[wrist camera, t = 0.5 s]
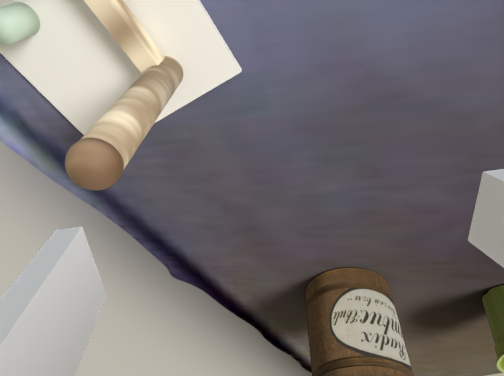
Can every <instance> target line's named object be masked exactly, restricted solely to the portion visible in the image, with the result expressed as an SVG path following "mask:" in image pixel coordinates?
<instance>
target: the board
mask: <svg viewBox="0 0 504 376" xmlns="http://www.w3.org/2000/svg"><path fill="white" fill-rule="evenodd" d="M123 1H124V2H125V4H126V5H127V7H128V8H129V9H130V11H131V12H132V13H133V15H134V16H135V17H136V19H137V20H138V22H139V23H140V24H141V26H142V27H143V28H144V30H145V31H146V32H147V34H148V35H149V37H150V38H151V39H152V41H153V42H154V43H155V45H156V46H157V48H158V49H159V50H160V52H161V53H162V54H163V56H169V57H172V58H174V59H175V60H177V61H178V62H179V64H180V65H181V67H182V69H183V79H182V81H181V83H180V84H179V86H178V87H177V89H176V90H175V92H174V93H173V95H172V97H171V98H170V100H169V101H168V103H167V104H166V106H165V107H164V109H163V110H162V112H161V113H160V115H159V116H158V118H157V119H156V121H155V122H157V121H159V120H161V119H162V118H164V117H166V116H167V115H169V114H171V113H172V112H174V111H176V110H178V109H179V108H181V107H183V106H184V105H186V104H188V103H189V102H191V101H193V100H194V99H196V98H198V97H200V96H201V95H203V94H205V93H206V92H208V91H210V90H211V89H213V88H215V87H217V86H218V85H220V84H222V83H223V82H225V81H227V80H228V79H230V78H232V77H233V76H235V75H237V74H239V73H240V72H241V71H242V69H241V67H240V66H239V64H238V62H237V61H236V59H235V57H234V56H233V54H232V52H231V51H230V49H229V48H228V46H227V44H226V43H225V41H224V39H223V38H222V36H221V34H220V33H219V31H218V29H217V28H216V26H215V25H214V23H213V21H212V20H211V18H210V16H209V15H208V13H207V11H206V10H205V8H204V7H203V5H202V3H201V2H200V0H123ZM15 2H22V3H25V4H27V5H28V6H30V7H31V8H32V9H33V10H34V11H35V12H36V14H37V16H38V18H39V20H40V30H39V31H38V32H37V33H36V34H34V35H31V36H29V37H27V38H25V39H22V40H20V41H18V42H16V43H13V44H11V45H1V44H0V53H1V54H2V55H3V56H4V57H5V58H6V59H7V60H8V61H9V62H10V63H11V64H12V65H13V66H14V67H15V68H16V69H17V70H18V71H19V72H20V73H21V74H22V75H23V76H24V77H25V78H26V79H27V80H28V81H29V82H30V83H31V84H32V85H33V86H34V87H35V88H36V89H37V90H38V91H39V92H40V93H41V94H42V95H43V96H44V97H46V98H47V99H48V100H49V101H50V102H51V103H52V104H53V105H54V106H55V107H56V108H57V109H58V110H59V111H60V112H61V113H62V114H63V115H64V116H65V117H66V118H67V119H68V120H69V121H70V122H71V123H72V124H73V125H74V126H75V127H76V128H77V129H78V130H79V131H80V132H81V133H82V134H83V135H85V134H86V133H87V132H88V131H89V130H90V128H91V127H92V126H93V125H94V124H95V123H96V122H97V121H98V120H99V119H100V118H101V117H102V116H103V115H104V114H105V113H106V112H107V111H108V109H109V108H110V107H111V106H112V105H113V104H114V103H115V102H116V101H117V100H118V99H119V98H120V97H121V96H122V95H123V94H124V93H125V92H126V90H127V89H128V88H129V87H130V86H131V85H132V84H133V83H134V82H135V81H136V80H137V79H138V78H139V77H140V76H141V75H142V73H141V72H140V70H139V69H138V68H137V67H136V65H135V64H134V63H133V62H132V60H131V59H130V58H129V57H128V55H127V54H126V53H125V52H124V50H123V49H122V48H121V47H120V45H119V44H118V43H117V41H116V40H115V39H114V38H113V36H112V35H111V34H110V33H109V31H108V30H107V29H106V28H105V26H104V25H103V24H102V23H101V21H100V20H99V19H98V18H97V16H96V15H95V14H94V13H93V11H92V10H91V9H90V7H89V6H88V5H87V4H86V2H85V1H84V0H0V7H2V6H5V5H8V4H12V3H15Z"/></svg>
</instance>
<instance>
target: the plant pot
mask: <svg viewBox="0 0 504 376" xmlns="http://www.w3.org/2000/svg"><path fill="white" fill-rule="evenodd" d="M482 302H483V305H484V309H485V312H486V315H487V319H488V322H489V325H490V329H491V332H492V336H493V339H494V342H495V350H496V354H497V358H498V359H497V361H496V366H497V368H498V369H499V370H500V371H501V372H503V373H504V285H501V286H497V287H494V288H492V289H490V290H489V291H488V293H487V294H485V295H483V297H482Z"/></svg>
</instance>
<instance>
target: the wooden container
mask: <svg viewBox="0 0 504 376" xmlns="http://www.w3.org/2000/svg"><path fill="white" fill-rule="evenodd" d="M306 306H307V325H308V337H309V346H310V356H311V367H312V376H414V375H413V373H412V369H411V365H410V362H409V358H408V354H407V351H406V347H405V343H404V339H403V335H402V332H401V328H400V324H399V320H398V317H397V313H396V309H395V306H394V304H393V300H392V297H391V293H390V290H389V287H388V284H387V282H386V281H385V280H384V279H383V278H382V277H381V276H380V275H378V274H376V273H374V272H372V271H369V270H365V269H360V268H339V269H333V270H330V271H327V272H324V273H322V274H320V275H318V276H317V277H315V278H314V279H313V280H312V281H311V282H310V283H309V284H308V286H307V288H306Z"/></svg>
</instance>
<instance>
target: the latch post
mask: <svg viewBox="0 0 504 376" xmlns="http://www.w3.org/2000/svg"><path fill="white" fill-rule="evenodd" d="M39 30H40V20H39V18H38V16H37V14H36V12H35V11H34V10H33V9H32V8H31V7H30V6H28V5H27V4H25V3H22V2H15V3H12V4H8V5H5V6H2V7H0V44H1V45H11V44H13V43H16V42H18V41H20V40H22V39H25V38H27V37H29V36H31V35H34V34H36V33H37V32H38V31H39Z"/></svg>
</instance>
